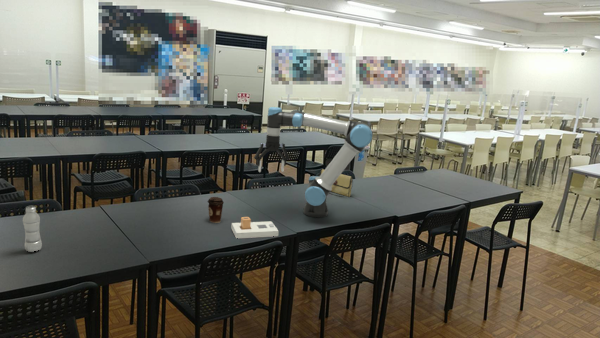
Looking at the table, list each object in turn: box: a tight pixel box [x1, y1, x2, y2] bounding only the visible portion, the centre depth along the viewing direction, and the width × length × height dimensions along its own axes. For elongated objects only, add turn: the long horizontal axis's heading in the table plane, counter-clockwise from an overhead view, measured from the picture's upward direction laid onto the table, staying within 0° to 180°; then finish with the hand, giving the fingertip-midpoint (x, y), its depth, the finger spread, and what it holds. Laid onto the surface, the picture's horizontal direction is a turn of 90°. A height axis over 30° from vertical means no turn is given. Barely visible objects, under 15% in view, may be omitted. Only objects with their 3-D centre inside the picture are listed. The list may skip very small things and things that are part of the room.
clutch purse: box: [317, 168, 354, 198], centre depth 312 cm, size 30×7×15 cm, turn 50°
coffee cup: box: [207, 196, 224, 224], centre depth 241 cm, size 9×8×13 cm
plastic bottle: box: [22, 205, 43, 253], centre depth 188 cm, size 6×7×20 cm
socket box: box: [230, 221, 279, 239], centre depth 230 cm, size 22×14×4 cm, turn 109°
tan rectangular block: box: [240, 216, 252, 230], centre depth 228 cm, size 4×4×8 cm
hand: (271, 171), depth 252 cm, fingers open, 13 cm apart
